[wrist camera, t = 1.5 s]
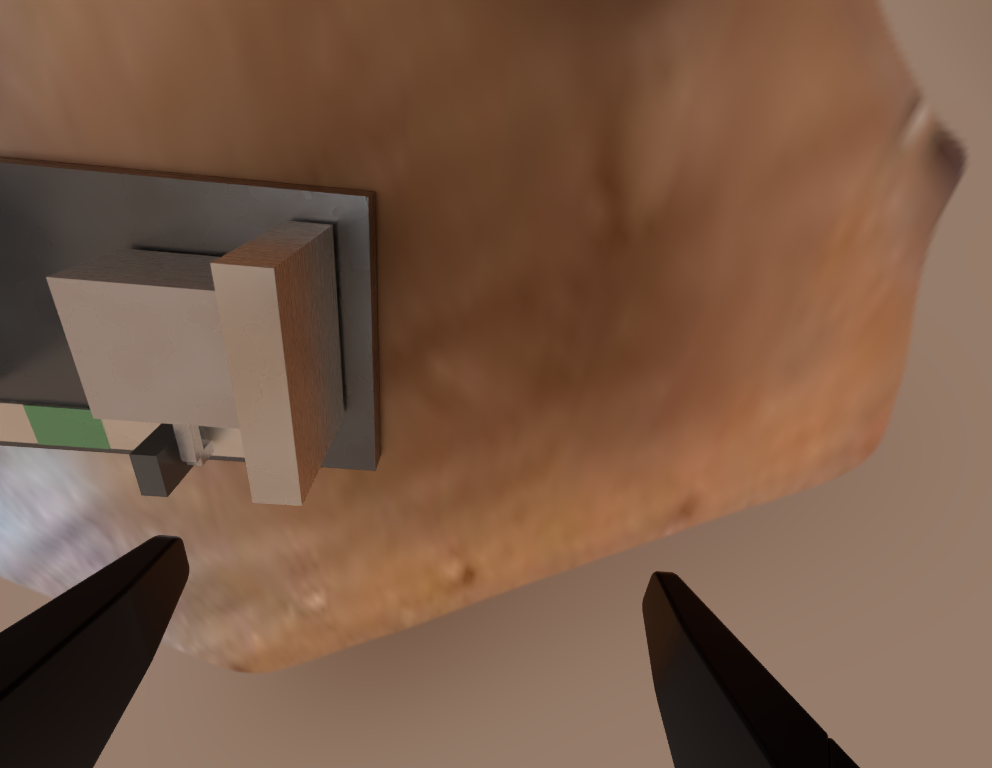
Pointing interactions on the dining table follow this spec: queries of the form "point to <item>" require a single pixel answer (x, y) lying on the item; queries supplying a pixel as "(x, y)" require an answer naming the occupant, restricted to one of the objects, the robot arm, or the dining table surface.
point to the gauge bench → (176, 229)
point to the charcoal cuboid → (159, 462)
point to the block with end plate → (217, 348)
